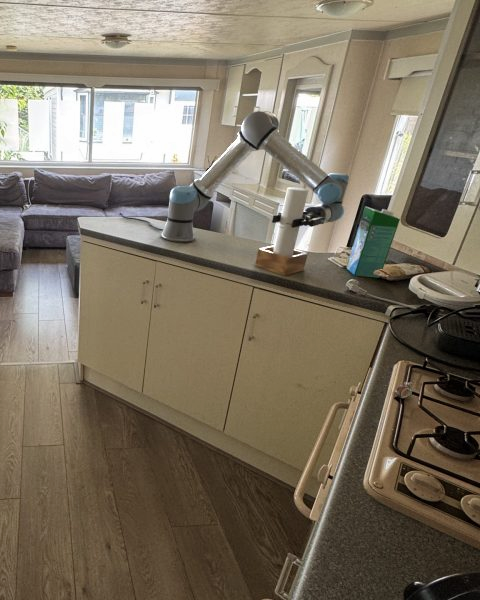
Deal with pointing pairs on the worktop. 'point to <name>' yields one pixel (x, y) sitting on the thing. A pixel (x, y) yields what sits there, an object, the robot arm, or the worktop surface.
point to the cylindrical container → (290, 221)
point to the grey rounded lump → (403, 391)
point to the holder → (280, 261)
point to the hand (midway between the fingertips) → (283, 221)
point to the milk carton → (372, 242)
